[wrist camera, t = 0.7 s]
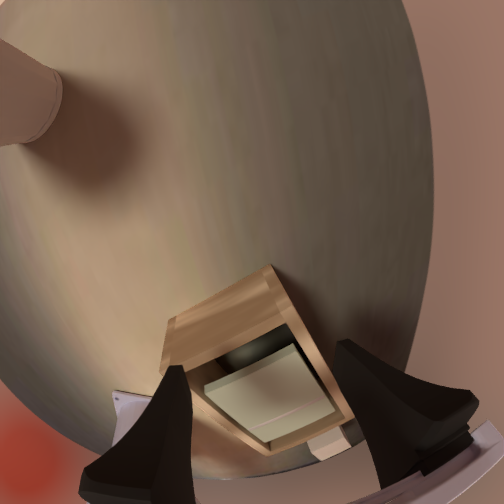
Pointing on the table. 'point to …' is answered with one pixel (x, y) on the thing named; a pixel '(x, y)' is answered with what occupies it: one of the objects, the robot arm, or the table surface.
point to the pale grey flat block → (272, 395)
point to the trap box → (235, 335)
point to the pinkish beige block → (329, 443)
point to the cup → (26, 96)
